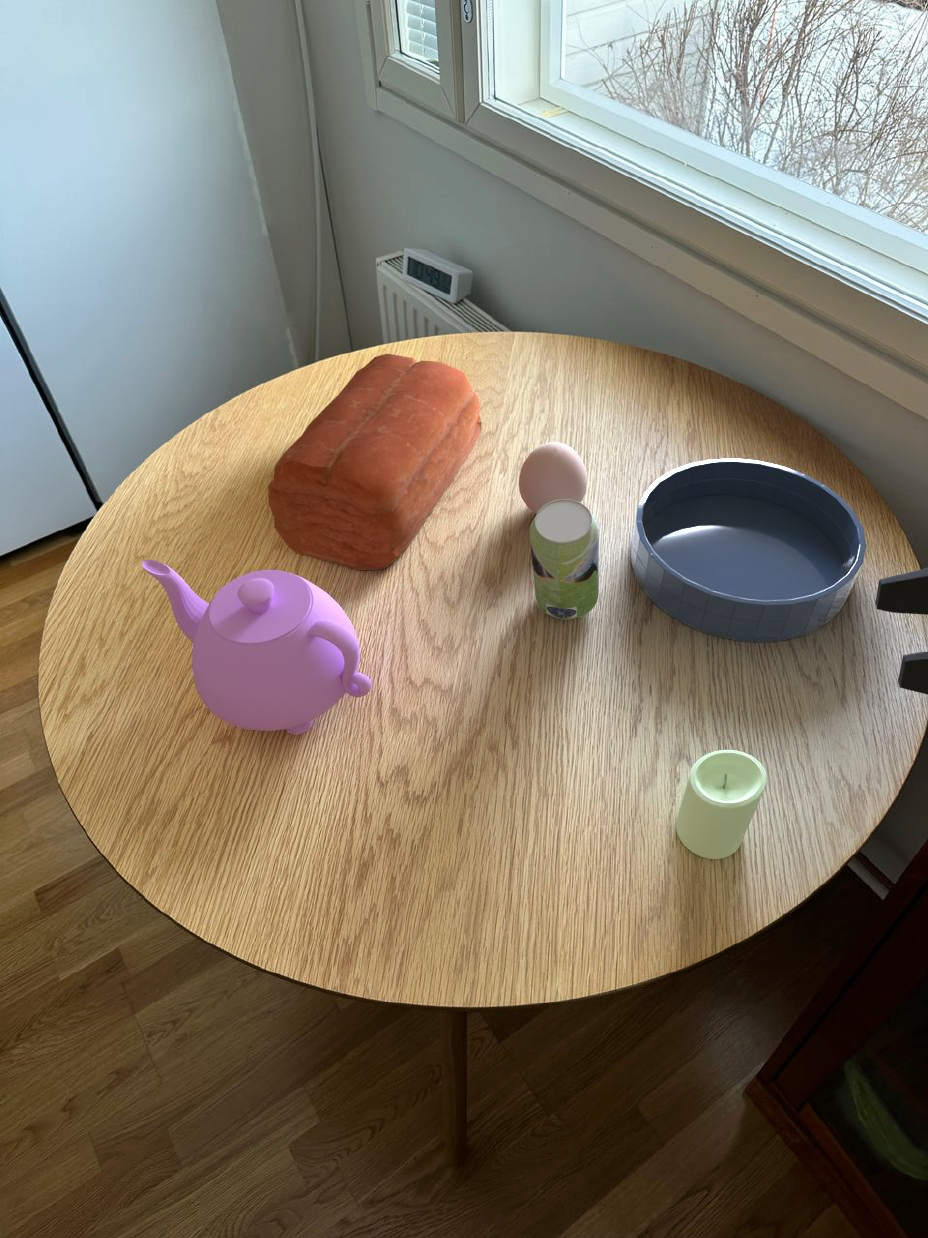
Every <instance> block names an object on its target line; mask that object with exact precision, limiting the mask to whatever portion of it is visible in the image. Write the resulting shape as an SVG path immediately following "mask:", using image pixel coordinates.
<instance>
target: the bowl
mask: <svg viewBox="0 0 928 1238" xmlns="http://www.w3.org/2000/svg"><path fill="white" fill-rule="evenodd" d="M866 550H867V542H866V535H865V530H864V527H863V525H862V523H861V521H860V519H859V517H858V516H857V514H856V512H855V511H854V509H852V507H851V506H850V505H849V504H848V503H847V502H846V501H845V500H844V499H843V497H841V496H840V495H839V494H837V493H836V492H835V491H833V490H832V489H831V488H830V487H828V486H827V485H826V484H824V483H822V482H820V481H819V480H817V479H815V478H812V477H811V476H810V475H807V474H805V473H802V472H800V471H797V470H795V469H791V468H789V467H787V466H783V465H780V464H775V463H771V462H766V461H762V460H755V459H745V458H733V457H731V458H712V459H706V460H700V461H694V462H690V463H687V464H685V465H682V466H679V467H676V468H673V469H671V470H669V471H668V472H666V473H665V474H663V475H661V476H660V477H658V478H657V479H656V480H654V481H653V482H652V484H651V485H649V487H647V489H646V490H645V491H644V492H643V493H642V496H641V498H640V500H639V503H638V504H637V507H636V513H635V520H634V527H633V533H632V539H631V549H630V563H631V568H632V571H633V574H634V577H635V579H636V582H637V583H638V585H639V586H640V588H641V590H642V591H643V593H644V594H645V595H646V596H647V598H648V599H650V601H651V602H653V604H655V605H656V606H657V607H658V608H659V609H660V610H661V611H662V612H664V613H665V614H667V615H668V616H669V617H671V618H673V619H675V620H676V621H678V622H679V623H681V624H683V625H685V626H687V627H689V628H692V629H694V630H696V631H699V632H702V633H704V634H707V635H710V636H713V637H717V638H721V639H724V640H731V641H736V642H746V643H772V642H773V643H774V642H782V641H787V640H791V639H792V640H793V639H796V638H799V637H802V636H806V635H808V634H810V633H813V632H815V631H816V630H819V629H820V628H822V627H823V626H825V625H826V624H828V623H830V622H831V621H832V620H833V618H835V617H836V616H837V614H839V612H840V611H841V610H842V609H843V606H844V604H845V603H846V601H847V599H848V598H849V596H850V594H851V592H852V589H853V587H854V584H855V582H856V580H857V578H858V575H859V573H860V571H861V568H862V566H863V564H864V561H865V556H866Z"/></svg>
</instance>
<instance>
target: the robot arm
mask: <svg viewBox="0 0 928 1238" xmlns="http://www.w3.org/2000/svg"><path fill="white" fill-rule="evenodd" d="M875 596H876V597H875V603H874V604H875V607H876V610H878V611H883V612H887V613H892V614H893V613H894V614H907V615H926V616H928V567H925V568H922V569H917V570H913V571H909V572H905V573H900V574H896V575H892V576H888V577H883V578H880V579H878V584H877V590H876V595H875ZM898 673H899V674H898V678H897V683H898V687H899V688H900V689H902V690H903V689H904V690H907V691H911V692H916V693H920V694H924V695H928V651H919V652H913V653H907V654H903V655H902V659H901V663H900V668H899V672H898Z"/></svg>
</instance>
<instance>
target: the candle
mask: <svg viewBox="0 0 928 1238" xmlns="http://www.w3.org/2000/svg"><path fill="white" fill-rule="evenodd" d="M767 784H768V775H767V772H766V769H765V767H764V765H763V764H762V763H761V762H760V761H759V760H757V759H756V758H755V757H754V756H752V755H751V754H748V753H746V752H744V751H739V750H736V749H722V750H720V749H719V750H715V751H712V752H709V753H706V754H704V755H703V756H701V758H699V759H698V760H697V761H696V762H695V763H694V764H693V766H692V768H691V770H690V772H689V775H688V777H687V781H686V784H685V787H684V792H683V793H682V798H681V802H680V803H679V804H680V805H679V807H678V811H677V815H676V817H675V829H676V835H677V837H678V838H679V840H680V842H681V843H682V844H683V846H684V847H685V848H686V849H687V850H689V851H690V852H691V853H693V854H695V855H697V856H699V857H701V858H705V859H709V860H721V859H725V858H728V857H730V856H732V855H733V854H735V853H736V852H737V851H738V849H739V848H740V846H741V845H742V842H743V840H744V838H745V835H746V833H747V831H748V828H749V826H750V824H751V821H752V819H753V817H754V815H755V813H756V811H757V808H758V806H759V804H760V801H761V799H762V797H763V795H764V792H765V789H766V787H767Z"/></svg>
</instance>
